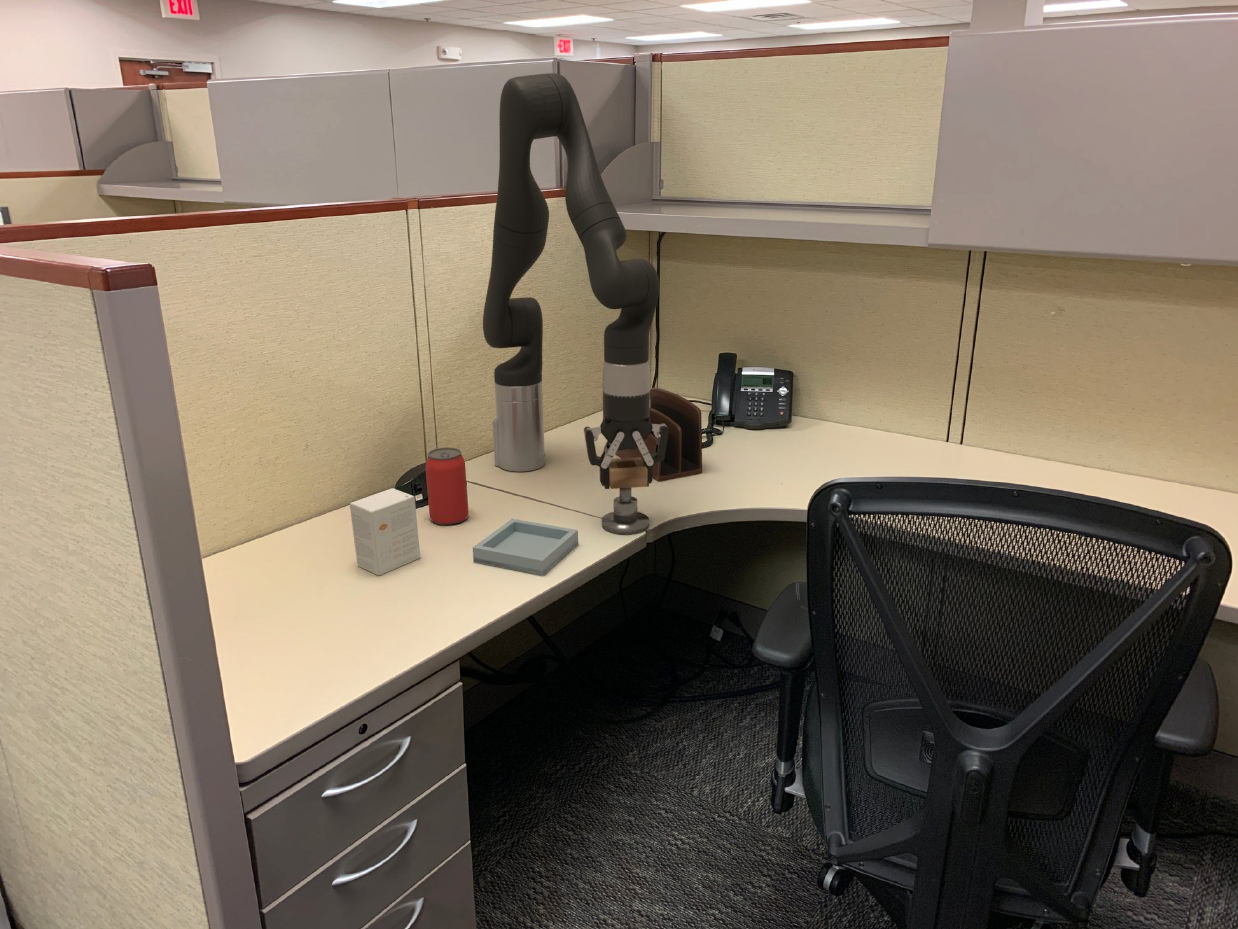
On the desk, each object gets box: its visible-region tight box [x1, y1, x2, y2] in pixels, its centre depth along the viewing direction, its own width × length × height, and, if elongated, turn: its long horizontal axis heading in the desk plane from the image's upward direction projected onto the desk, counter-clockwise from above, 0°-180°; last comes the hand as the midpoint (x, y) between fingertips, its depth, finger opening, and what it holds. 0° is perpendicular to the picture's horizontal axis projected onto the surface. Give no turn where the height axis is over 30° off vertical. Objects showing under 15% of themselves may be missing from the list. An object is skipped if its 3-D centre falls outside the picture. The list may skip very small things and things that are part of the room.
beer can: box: [425, 446, 470, 526], centre depth 147 cm, size 7×7×12 cm
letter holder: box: [615, 387, 703, 482], centre depth 174 cm, size 10×20×14 cm, turn 27°
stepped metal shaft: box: [601, 488, 650, 536], centre depth 145 cm, size 8×8×9 cm
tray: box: [472, 518, 579, 577], centre depth 136 cm, size 12×12×2 cm
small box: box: [349, 487, 421, 576], centre depth 132 cm, size 8×6×10 cm
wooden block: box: [608, 457, 648, 490], centre depth 143 cm, size 6×6×3 cm
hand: (626, 486), depth 144 cm, fingers closed on wooden block, 6 cm apart
